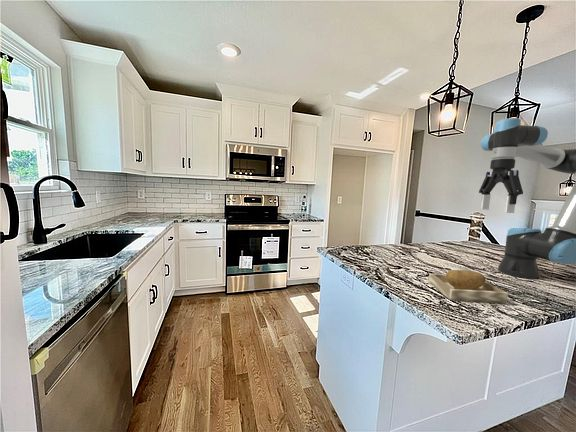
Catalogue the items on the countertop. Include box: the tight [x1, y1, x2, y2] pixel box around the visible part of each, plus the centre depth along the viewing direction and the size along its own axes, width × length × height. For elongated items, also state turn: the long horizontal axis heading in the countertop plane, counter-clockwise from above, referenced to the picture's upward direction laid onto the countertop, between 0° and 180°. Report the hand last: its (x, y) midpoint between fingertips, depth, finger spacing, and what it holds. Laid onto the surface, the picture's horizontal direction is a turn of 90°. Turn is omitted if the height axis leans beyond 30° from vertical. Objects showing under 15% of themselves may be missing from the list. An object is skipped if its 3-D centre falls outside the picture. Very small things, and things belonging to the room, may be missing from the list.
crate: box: [428, 273, 509, 305], centre depth 99 cm, size 19×17×4 cm
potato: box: [446, 269, 487, 290], centre depth 98 cm, size 10×14×8 cm
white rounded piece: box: [450, 266, 472, 271], centre depth 114 cm, size 8×8×4 cm
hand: (496, 211), depth 101 cm, fingers open, 13 cm apart
